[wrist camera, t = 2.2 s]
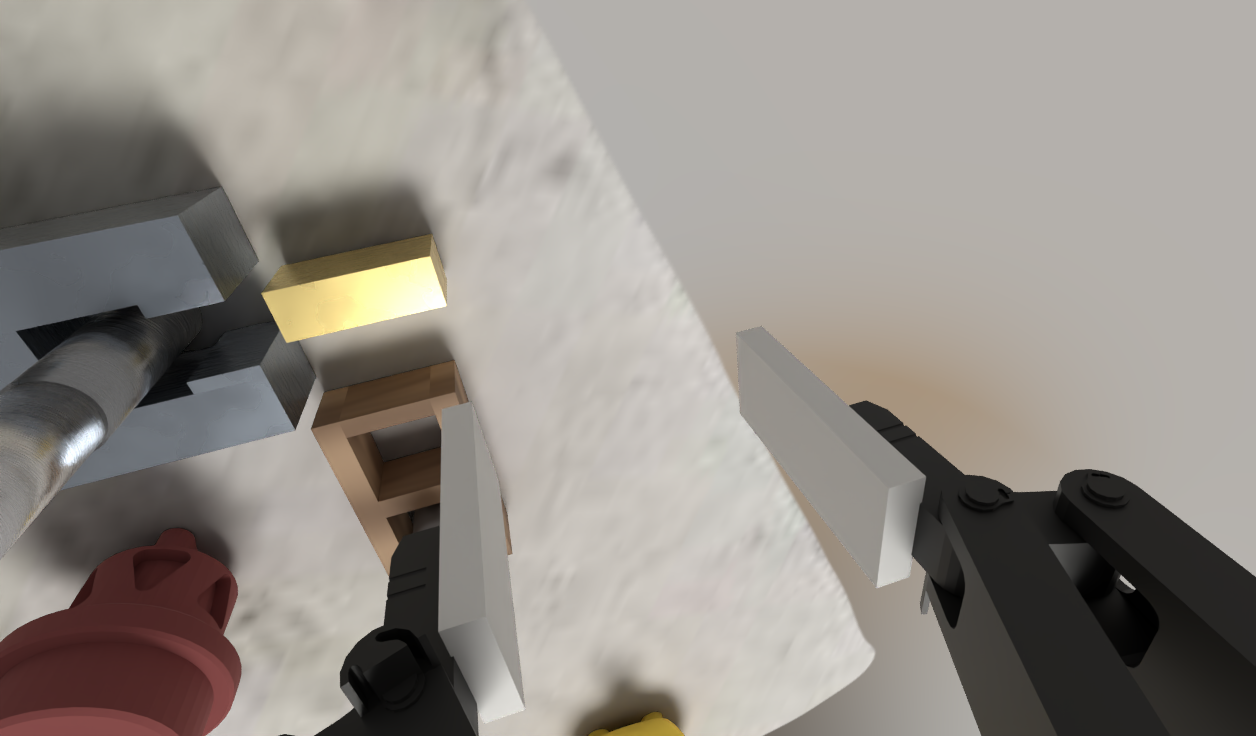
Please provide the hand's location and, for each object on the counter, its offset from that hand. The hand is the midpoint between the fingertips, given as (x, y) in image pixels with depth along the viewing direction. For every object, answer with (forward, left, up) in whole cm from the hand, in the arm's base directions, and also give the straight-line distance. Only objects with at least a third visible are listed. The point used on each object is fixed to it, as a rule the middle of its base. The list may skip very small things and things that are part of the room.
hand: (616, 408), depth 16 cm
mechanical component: (+15, -25, -17) cm, 34 cm away
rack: (+12, -10, -17) cm, 23 cm away
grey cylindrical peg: (0, -18, -17) cm, 25 cm away
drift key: (0, -9, -17) cm, 19 cm away
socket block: (0, -18, -17) cm, 25 cm away
